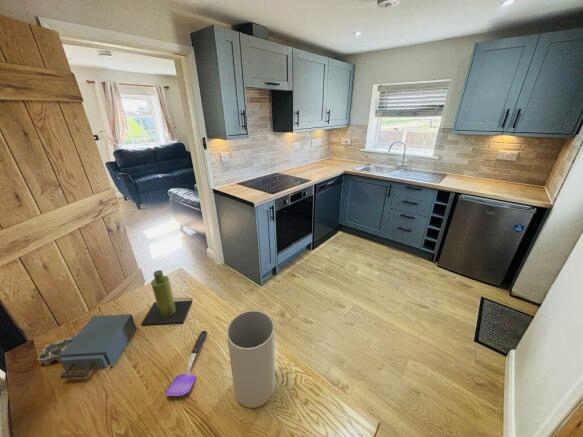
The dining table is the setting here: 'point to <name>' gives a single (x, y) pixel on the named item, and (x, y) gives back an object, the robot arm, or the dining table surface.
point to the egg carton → (54, 351)
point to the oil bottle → (163, 294)
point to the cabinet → (103, 337)
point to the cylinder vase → (252, 357)
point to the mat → (176, 318)
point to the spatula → (186, 381)
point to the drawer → (82, 364)
